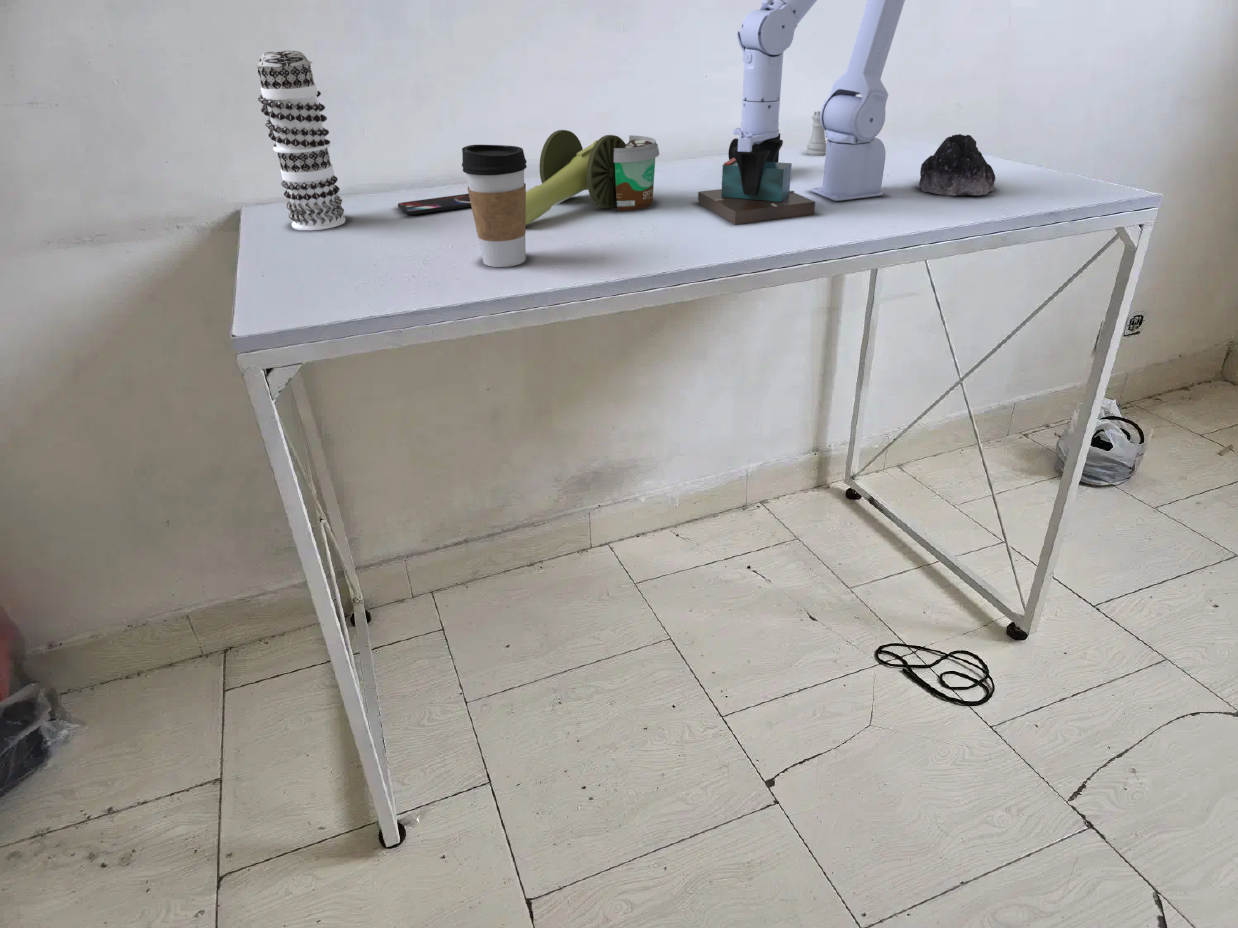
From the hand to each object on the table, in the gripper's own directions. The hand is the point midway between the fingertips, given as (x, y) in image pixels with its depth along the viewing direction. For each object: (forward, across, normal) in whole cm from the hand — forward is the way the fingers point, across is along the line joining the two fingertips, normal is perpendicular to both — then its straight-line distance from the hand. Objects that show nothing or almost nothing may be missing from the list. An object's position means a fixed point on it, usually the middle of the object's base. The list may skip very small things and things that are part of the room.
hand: (755, 190), depth 130 cm
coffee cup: (+3, +38, -24) cm, 45 cm away
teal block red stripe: (+1, 0, 0) cm, 1 cm away
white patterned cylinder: (+3, +33, -64) cm, 72 cm away
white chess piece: (+3, -47, -2) cm, 47 cm away
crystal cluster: (+3, -24, +28) cm, 37 cm away
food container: (+3, +4, -19) cm, 19 cm away
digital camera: (+3, -23, -8) cm, 25 cm away
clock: (+3, 0, 0) cm, 3 cm away
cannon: (+3, +12, -29) cm, 31 cm away
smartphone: (+3, +17, -50) cm, 53 cm away
